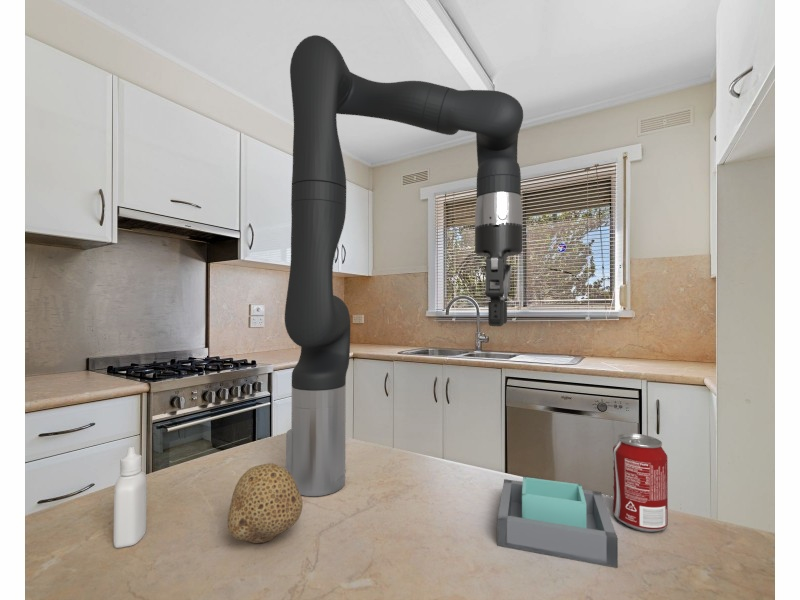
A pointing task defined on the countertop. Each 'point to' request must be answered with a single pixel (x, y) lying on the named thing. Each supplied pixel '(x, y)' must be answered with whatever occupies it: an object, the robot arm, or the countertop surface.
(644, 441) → the soda can
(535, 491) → the small crate
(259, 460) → the countertop surface
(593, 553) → the large crate
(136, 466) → the eye dropper bottle
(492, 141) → the robot arm
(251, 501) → the natural sponge
